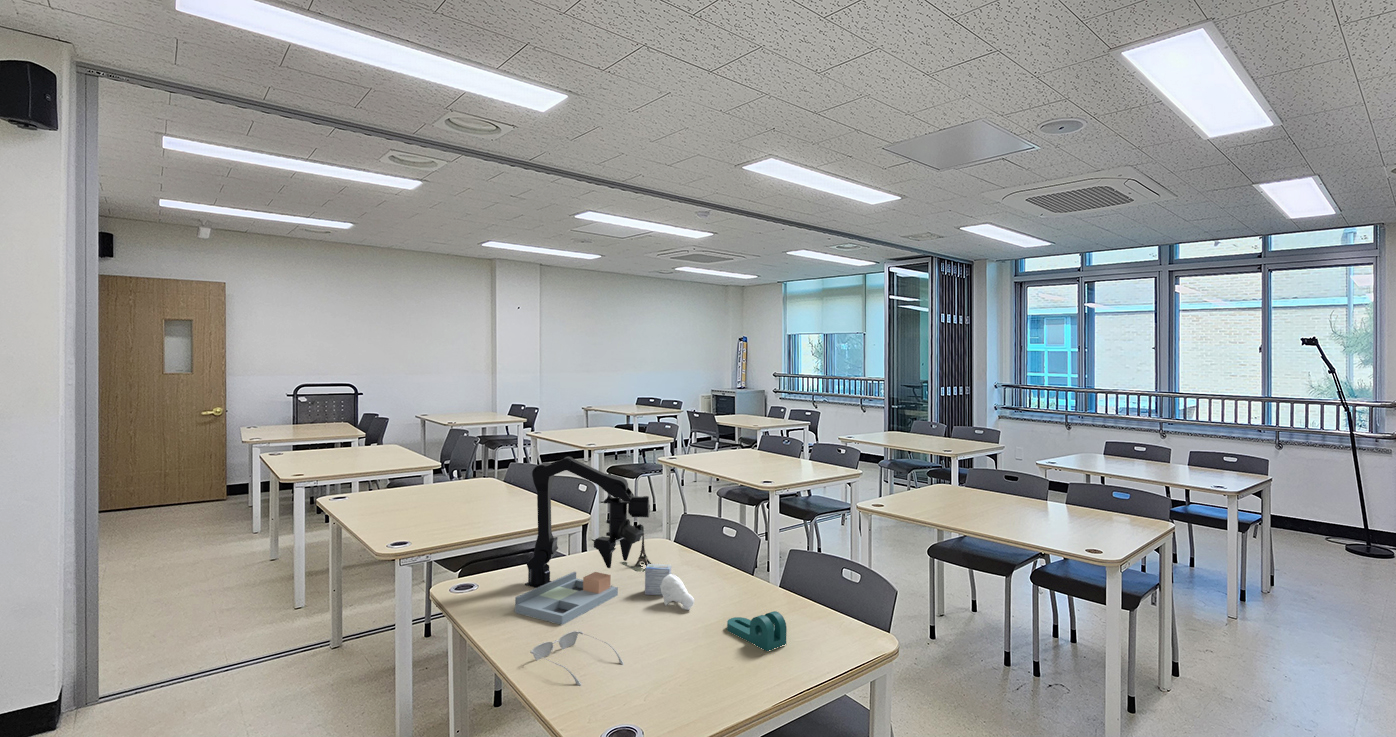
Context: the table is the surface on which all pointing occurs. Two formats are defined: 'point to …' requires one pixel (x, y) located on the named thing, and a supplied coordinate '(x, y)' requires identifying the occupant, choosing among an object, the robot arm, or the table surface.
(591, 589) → the block
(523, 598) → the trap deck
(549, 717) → the table surface
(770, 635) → the bracket
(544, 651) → the eyeglasses
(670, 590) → the white animal figurine
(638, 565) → the eiffel tower figurine
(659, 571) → the medicine box
